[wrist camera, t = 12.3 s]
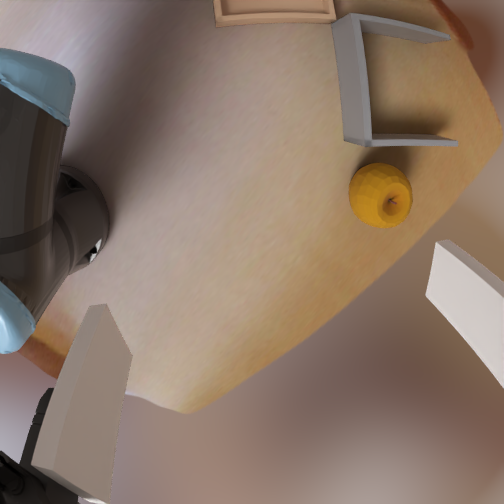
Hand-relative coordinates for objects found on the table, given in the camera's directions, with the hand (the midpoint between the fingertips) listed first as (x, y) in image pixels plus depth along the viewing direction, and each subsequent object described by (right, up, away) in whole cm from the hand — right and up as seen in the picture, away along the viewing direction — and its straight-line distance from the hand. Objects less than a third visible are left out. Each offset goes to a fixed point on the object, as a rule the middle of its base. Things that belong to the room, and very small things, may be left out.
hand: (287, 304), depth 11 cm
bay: (+18, +25, +22) cm, 38 cm away
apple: (+15, +11, +29) cm, 34 cm away
